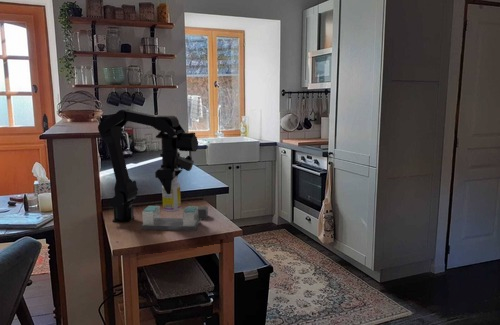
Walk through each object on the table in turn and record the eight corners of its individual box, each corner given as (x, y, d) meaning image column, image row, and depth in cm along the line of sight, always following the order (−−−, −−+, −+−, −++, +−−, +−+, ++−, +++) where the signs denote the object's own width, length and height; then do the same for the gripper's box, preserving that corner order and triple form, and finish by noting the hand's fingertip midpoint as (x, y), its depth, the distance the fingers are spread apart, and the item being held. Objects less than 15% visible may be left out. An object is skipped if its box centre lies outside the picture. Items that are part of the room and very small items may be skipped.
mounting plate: (141, 229, 140) (140, 211, 139) (149, 221, 149) (148, 204, 148) (195, 230, 139) (194, 212, 138) (200, 222, 148) (199, 205, 147)
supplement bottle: (176, 206, 149) (175, 173, 147) (183, 210, 144) (182, 177, 141) (160, 209, 145) (158, 175, 143) (166, 213, 140) (165, 179, 138)
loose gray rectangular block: (193, 219, 153) (193, 209, 152) (195, 215, 157) (195, 206, 156) (206, 219, 152) (205, 209, 152) (207, 216, 156) (207, 206, 156)
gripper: (186, 154, 131) (187, 198, 134) (196, 147, 149) (197, 186, 152) (153, 154, 131) (155, 198, 134) (168, 146, 150) (169, 185, 153)
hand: (171, 191), depth 143 cm, fingers closed on supplement bottle, 7 cm apart
